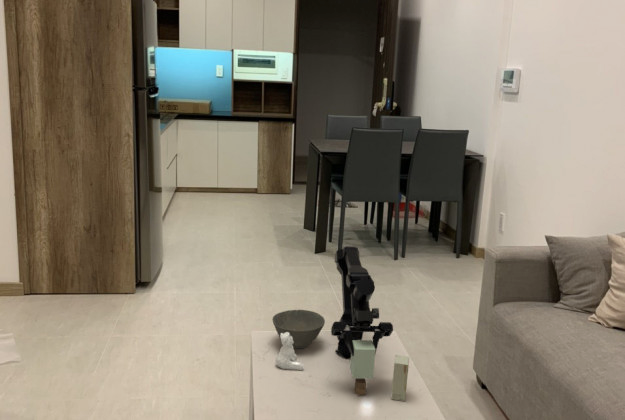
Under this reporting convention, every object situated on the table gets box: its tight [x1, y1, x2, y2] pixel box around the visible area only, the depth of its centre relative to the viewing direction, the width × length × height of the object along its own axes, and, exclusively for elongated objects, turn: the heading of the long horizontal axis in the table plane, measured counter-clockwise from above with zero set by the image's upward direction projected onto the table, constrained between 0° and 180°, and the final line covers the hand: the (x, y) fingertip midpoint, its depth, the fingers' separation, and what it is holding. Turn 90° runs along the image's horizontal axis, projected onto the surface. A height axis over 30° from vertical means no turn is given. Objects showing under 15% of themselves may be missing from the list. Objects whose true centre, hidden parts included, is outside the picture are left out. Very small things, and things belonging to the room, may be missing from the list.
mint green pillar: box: [349, 339, 376, 379], centre depth 191 cm, size 6×6×10 cm
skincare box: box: [390, 354, 410, 402], centre depth 192 cm, size 6×4×12 cm
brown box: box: [354, 378, 367, 396], centre depth 194 cm, size 3×3×4 cm
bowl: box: [272, 309, 326, 349], centre depth 223 cm, size 19×19×10 cm
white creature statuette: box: [275, 332, 305, 371], centre depth 207 cm, size 10×9×12 cm
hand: (363, 355), depth 190 cm, fingers closed on mint green pillar, 6 cm apart
